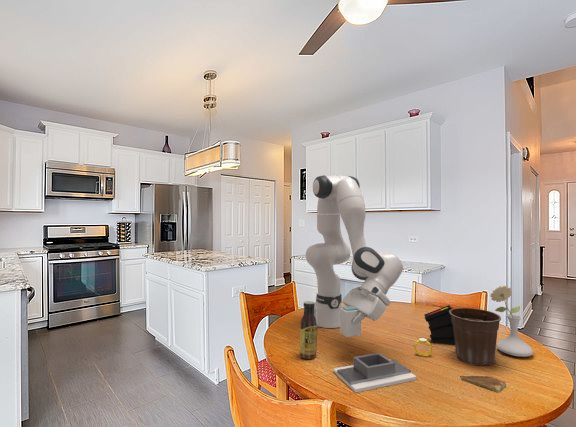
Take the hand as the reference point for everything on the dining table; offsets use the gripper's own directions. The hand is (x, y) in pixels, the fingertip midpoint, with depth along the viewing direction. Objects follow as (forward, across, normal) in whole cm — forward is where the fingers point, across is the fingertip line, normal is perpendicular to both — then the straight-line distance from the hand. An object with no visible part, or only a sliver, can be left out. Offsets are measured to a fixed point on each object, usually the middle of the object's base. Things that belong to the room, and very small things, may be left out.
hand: (349, 320), depth 119 cm
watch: (-9, +7, +29) cm, 31 cm away
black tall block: (-21, 0, +40) cm, 45 cm away
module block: (+3, 0, +4) cm, 5 cm away
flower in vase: (-32, +18, +51) cm, 63 cm away
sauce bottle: (+19, -7, 0) cm, 20 cm away
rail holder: (+9, +14, +10) cm, 20 cm away
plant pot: (-20, +16, +39) cm, 47 cm away
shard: (-10, +32, +30) cm, 45 cm away
